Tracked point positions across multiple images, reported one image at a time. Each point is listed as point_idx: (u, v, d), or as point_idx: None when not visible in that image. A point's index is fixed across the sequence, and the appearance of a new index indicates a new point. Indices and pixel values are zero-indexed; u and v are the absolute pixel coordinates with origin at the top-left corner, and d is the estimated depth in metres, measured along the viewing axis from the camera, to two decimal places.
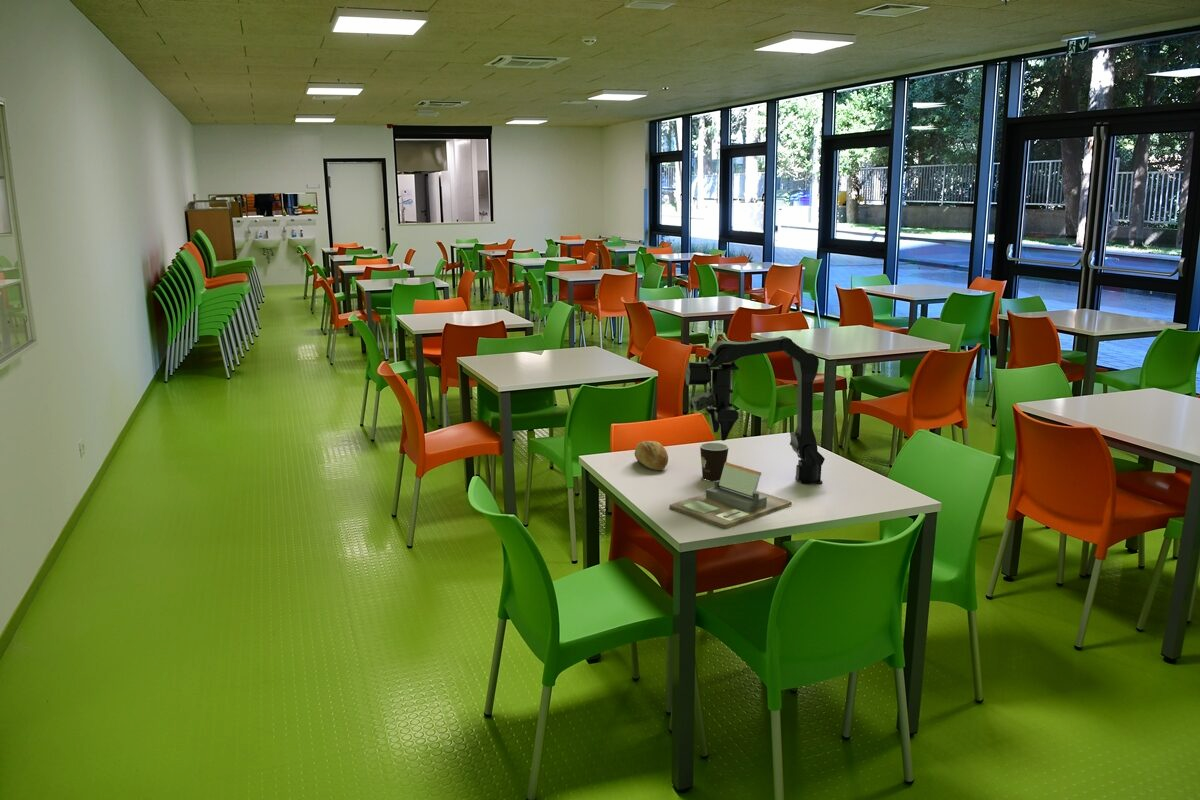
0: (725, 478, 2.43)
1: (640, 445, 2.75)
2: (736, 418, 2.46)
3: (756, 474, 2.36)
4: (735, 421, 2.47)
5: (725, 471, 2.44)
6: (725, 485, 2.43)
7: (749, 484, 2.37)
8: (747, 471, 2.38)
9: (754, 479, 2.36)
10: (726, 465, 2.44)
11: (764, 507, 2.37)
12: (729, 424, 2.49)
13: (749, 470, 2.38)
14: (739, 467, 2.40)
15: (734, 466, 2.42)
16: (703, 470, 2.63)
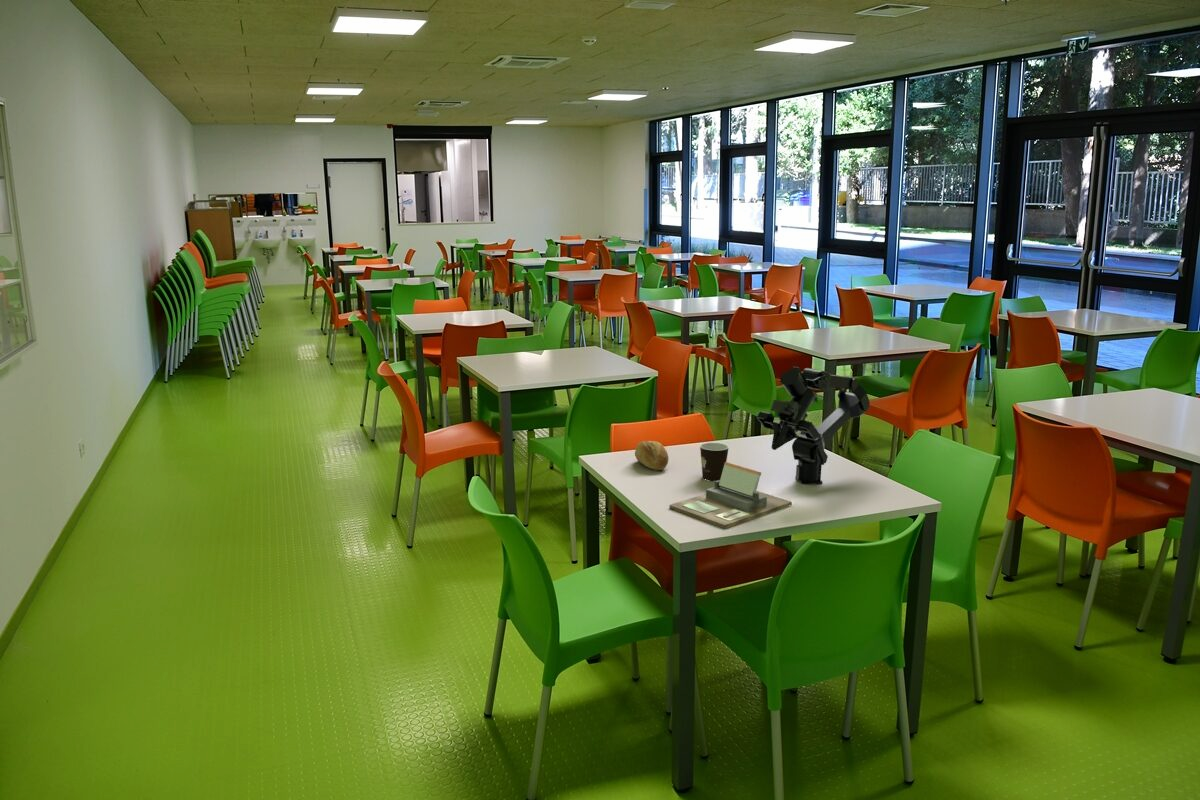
0: (725, 478, 2.43)
1: (640, 445, 2.75)
2: (815, 438, 2.45)
3: (756, 474, 2.36)
4: (797, 437, 2.49)
5: (725, 471, 2.44)
6: (725, 485, 2.43)
7: (749, 484, 2.37)
8: (747, 471, 2.38)
9: (754, 479, 2.36)
10: (726, 465, 2.44)
11: (764, 507, 2.37)
12: (788, 437, 2.49)
13: (749, 470, 2.38)
14: (739, 467, 2.40)
15: (734, 466, 2.42)
16: (703, 470, 2.63)
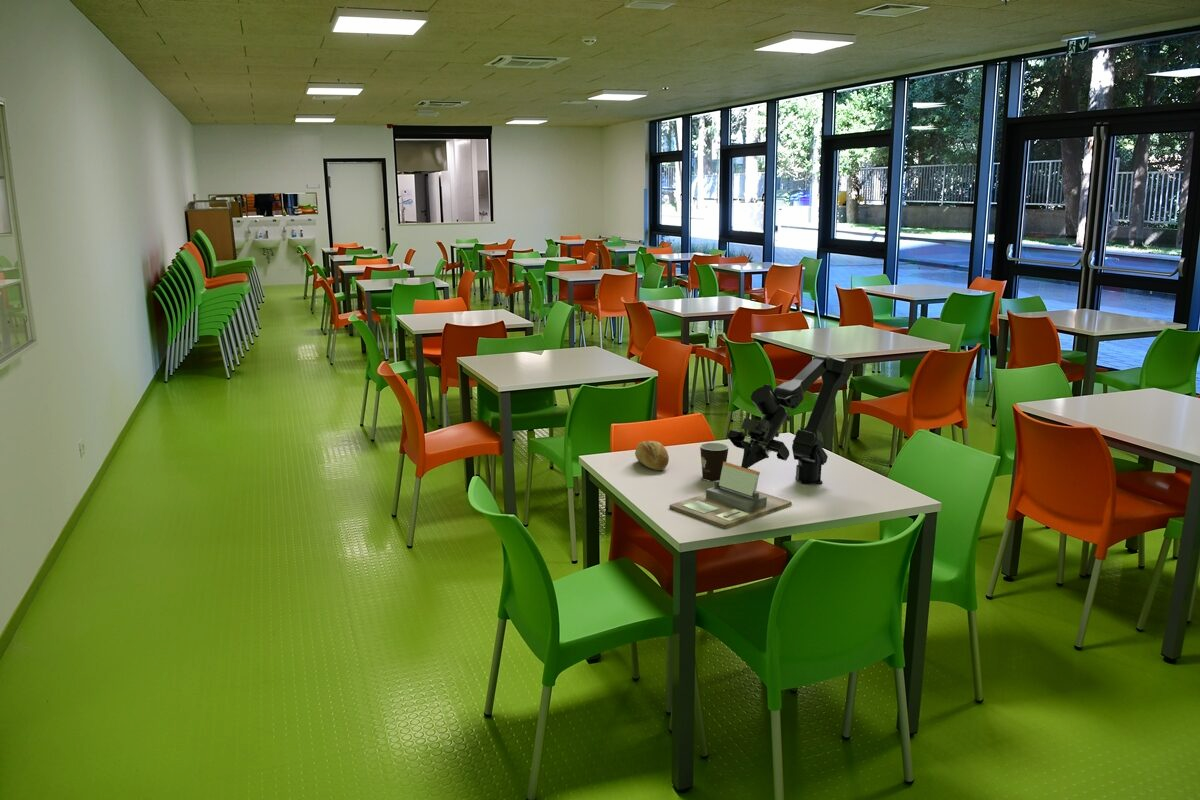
0: (724, 479, 2.43)
1: (641, 445, 2.75)
2: (786, 458, 2.37)
3: (755, 474, 2.35)
4: (768, 457, 2.41)
5: (724, 471, 2.43)
6: (725, 485, 2.43)
7: (748, 484, 2.37)
8: (746, 471, 2.38)
9: (753, 479, 2.36)
10: (725, 465, 2.43)
11: (764, 507, 2.37)
12: (758, 457, 2.42)
13: (747, 470, 2.37)
14: (737, 467, 2.40)
15: (733, 466, 2.41)
16: (703, 470, 2.63)
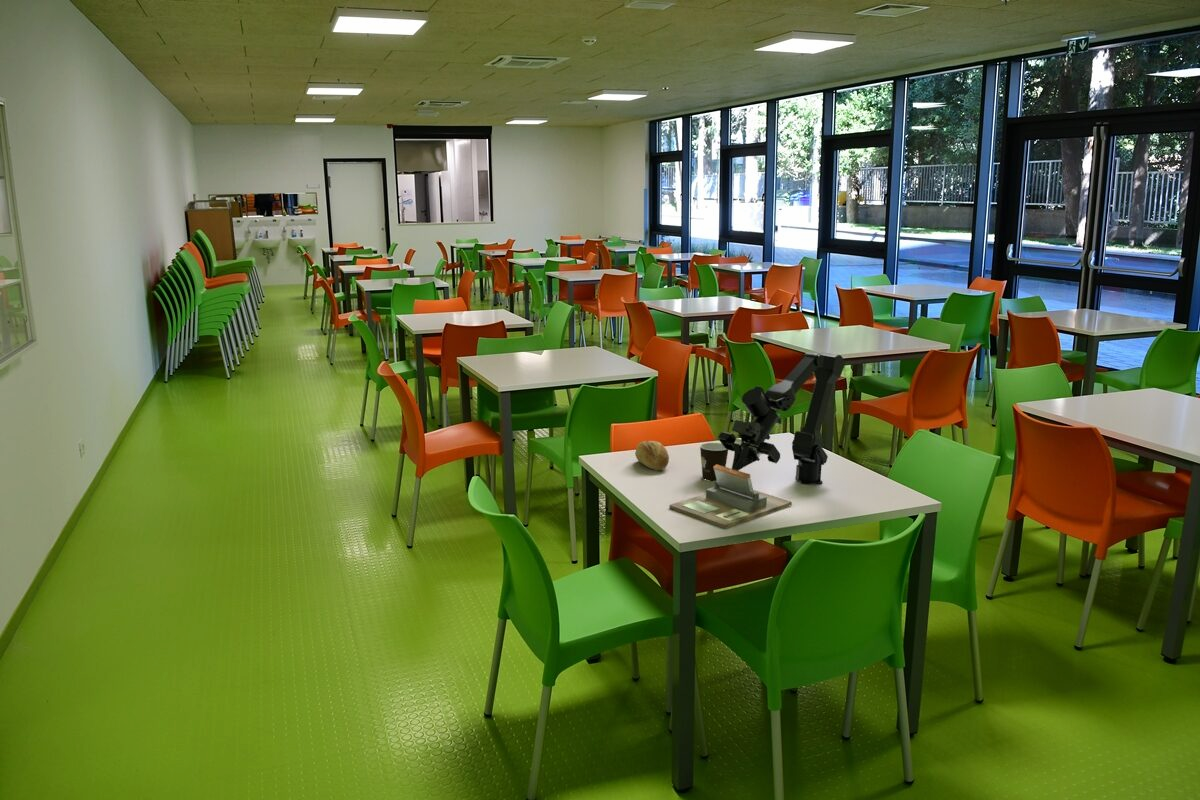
0: (721, 481, 2.42)
1: (641, 445, 2.75)
2: (777, 461, 2.35)
3: (746, 479, 2.33)
4: None
5: (718, 475, 2.42)
6: (724, 487, 2.42)
7: (744, 487, 2.36)
8: (737, 476, 2.35)
9: (746, 483, 2.34)
10: (716, 469, 2.41)
11: (764, 507, 2.37)
12: (749, 460, 2.39)
13: (738, 475, 2.35)
14: (728, 472, 2.37)
15: (723, 471, 2.39)
16: (703, 470, 2.63)
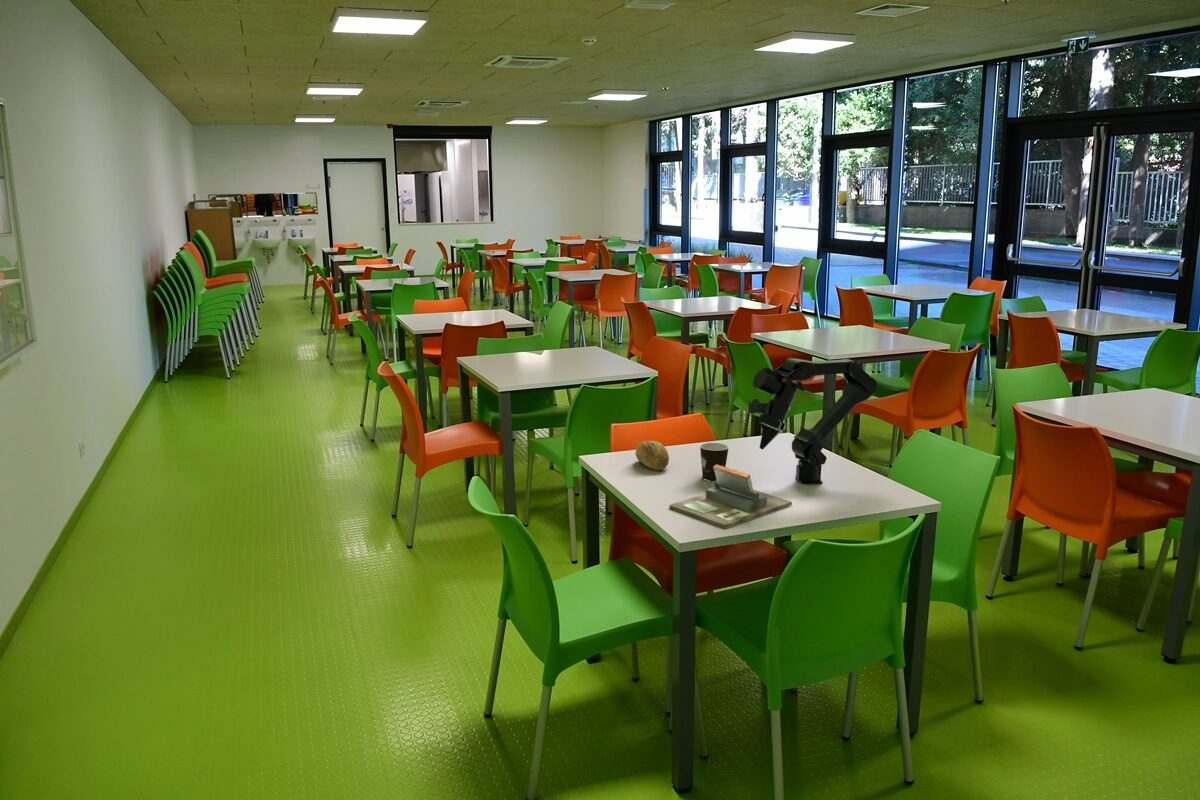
0: (720, 481, 2.42)
1: (641, 445, 2.75)
2: (775, 426, 2.44)
3: (746, 479, 2.33)
4: (776, 431, 2.50)
5: (718, 475, 2.42)
6: (724, 487, 2.42)
7: (744, 487, 2.36)
8: (737, 476, 2.35)
9: (746, 483, 2.34)
10: (716, 470, 2.41)
11: (764, 507, 2.37)
12: (771, 434, 2.52)
13: (738, 475, 2.35)
14: (728, 472, 2.37)
15: (723, 471, 2.39)
16: (703, 470, 2.63)
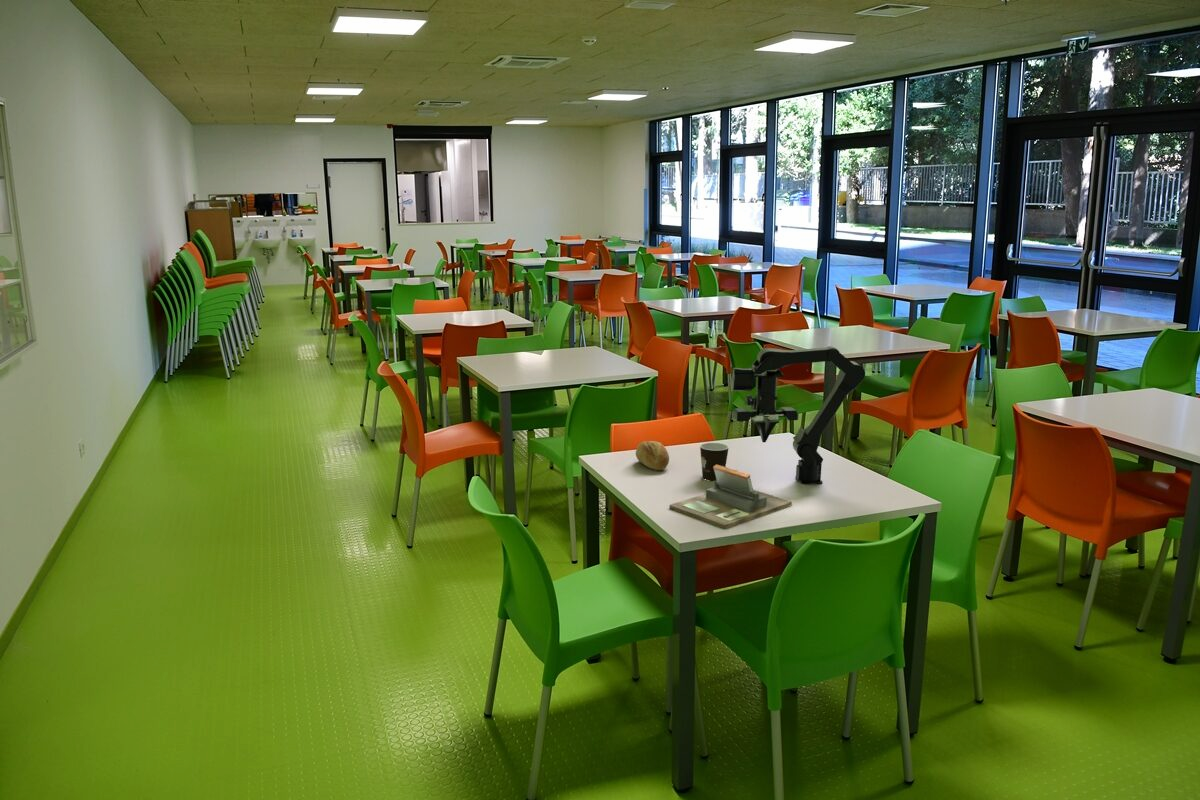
0: (720, 481, 2.42)
1: (641, 445, 2.75)
2: (736, 419, 2.55)
3: (746, 479, 2.33)
4: None
5: (718, 475, 2.42)
6: (724, 487, 2.42)
7: (744, 487, 2.36)
8: (737, 476, 2.35)
9: (746, 483, 2.34)
10: (716, 470, 2.41)
11: (764, 507, 2.37)
12: None
13: (738, 475, 2.35)
14: (728, 472, 2.37)
15: (723, 471, 2.39)
16: (703, 470, 2.63)
